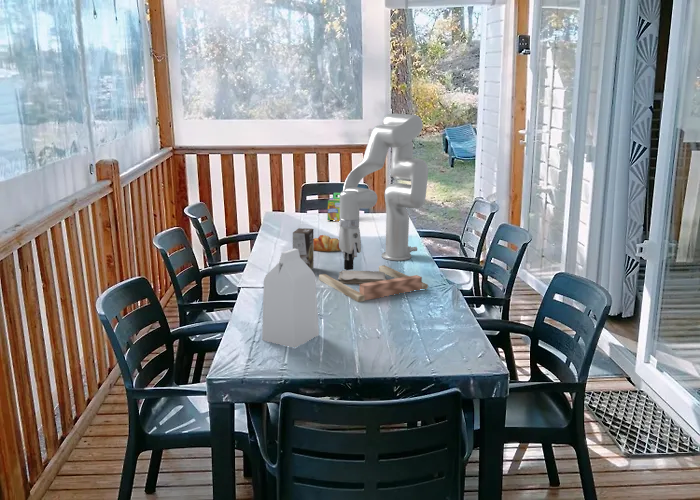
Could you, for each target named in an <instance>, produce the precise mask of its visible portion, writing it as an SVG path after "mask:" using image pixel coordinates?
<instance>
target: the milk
mask: <svg viewBox="0 0 700 500" xmlns="http://www.w3.org/2000/svg"><path fill="white" fill-rule="evenodd" d="M317 294H318V293H317V281H316V274H315V272H314V271H313V269H312V270H311V269H310V268H309V267H308V265H307V264H306V263H305V262H304V261H303V260H302V259H301V258H300V254H299V250H298V249H295V248H294V249H293V248H291V249H289V250H285V251H282V252H281V254H280V258H279V261H278V262H277V264H276V265H275V266H274V267H273V268H272V269H271V270H270V271H268V273H267V274H266V275H265V276H264V279H263V294H262V295H263V297H262V299H263V300H262V301H263V302H262V329H261V330H262V331H261V332H262V333H261V335H262V337H261V341H264V342H267V341H268V342H269V343H271V342H272V344H275V343H276V345H278V344H280V345H279V346H282V345H285V346H284V347H286V346H289V347H294V348H295V347H297V346H299V345H301V344H302V345H305V344H306V343H308V342H310V341H312V340H313V339H312V338H314V337H315V338H317V337H319V336H320V329H319V312H318V298H317ZM318 335H319V336H318ZM316 336H317V337H316ZM315 338H314V339H315ZM311 339H312V340H311ZM309 340H310V341H309ZM307 341H308V342H307ZM268 342H267V343H268ZM305 342H306V343H305ZM302 345H301V346H302ZM289 347H288V348H289ZM299 347H300V346H299ZM297 348H298V347H297ZM295 349H296V348H295Z"/></svg>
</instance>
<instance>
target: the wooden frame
mask: <svg viewBox="0 0 700 500" xmlns="http://www.w3.org/2000/svg"><path fill="white" fill-rule="evenodd" d="M379 271H380V272H384V273H385V275H387V276H389V277H391V279H386V280H383V281H376V282H370V283H364V284H359V291H357V290H355V289H354V288H352V287H350V286H348V285H347V284H343V283H341V282H339V280H338V279H335V278H333V277H331V276H330V275H328V274H326V273H322V274H319V275H318V280H319V281H320V282H321V283H323V284H325V285H327V286H329V287H330V288H333V289H334V290H336V291H337V292H339V293H342V294H343V295H346V296H347V297H349V298H350V299H352V300H354V301H355V302H358V303H361V302H365V301H368V300H375V299H380V297H381V298H385V297H384V296H387V297H390V296H389V295H393V296H395V295H394V294H398V295H400V294H399V293H404V292H410V291H414V290H420V289H427V288H428V289H429V284H428V283H425V282H424V281H423V277H422V276H420V275H418V274H416V275H407V274H405V273H402V272H400V271H399V270H396V269H394V268H391V267H390V266H387V265H385V264H383V265H379V266H378V272H379ZM393 277H394V278H393ZM410 293H411V292H410ZM404 294H405V293H404Z"/></svg>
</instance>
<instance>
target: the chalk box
mask: <svg viewBox="0 0 700 500" xmlns="http://www.w3.org/2000/svg"><path fill="white" fill-rule="evenodd" d="M340 193H341V192H333V196H332V197H330V198H329V199H328V200H327V220H335V221H340ZM337 195H338V196H339V197H337ZM327 220H326V221H327ZM335 221H334V222H335Z"/></svg>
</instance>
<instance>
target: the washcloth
mask: <svg viewBox="0 0 700 500" xmlns="http://www.w3.org/2000/svg"><path fill="white" fill-rule="evenodd" d="M383 280H387V279H386V274H385V273H384V272H380V271H379V270H378V271H377V270H373V271H371V270H345V269H344V270H341V271H338V279H337V281H339V282H341V283H343V284H345V285H360V284H364V283H370V282H376V281H383Z"/></svg>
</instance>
